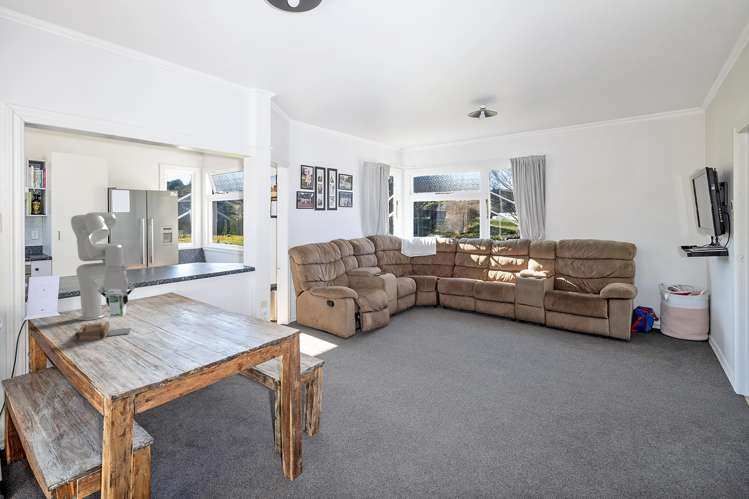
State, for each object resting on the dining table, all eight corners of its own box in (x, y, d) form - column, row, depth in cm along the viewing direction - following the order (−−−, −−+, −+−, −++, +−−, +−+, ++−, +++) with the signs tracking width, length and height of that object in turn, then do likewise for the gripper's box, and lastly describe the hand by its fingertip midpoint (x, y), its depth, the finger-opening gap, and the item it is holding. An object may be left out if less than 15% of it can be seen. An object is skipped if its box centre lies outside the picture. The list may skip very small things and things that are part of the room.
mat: (110, 331, 198) (110, 330, 198) (130, 328, 202) (130, 327, 202) (107, 336, 189) (107, 335, 189) (128, 334, 193) (128, 332, 193)
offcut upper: (87, 327, 195) (87, 323, 195) (102, 325, 198) (101, 321, 198) (86, 329, 191) (86, 325, 191) (101, 328, 194) (100, 324, 194)
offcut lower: (88, 332, 196) (88, 327, 196) (103, 331, 199) (102, 325, 198) (86, 335, 192) (86, 329, 191) (101, 334, 194) (100, 328, 194)
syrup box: (109, 317, 191) (107, 289, 190) (114, 314, 197) (112, 286, 195) (122, 316, 193) (120, 288, 191) (126, 314, 198) (124, 286, 197)
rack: (83, 332, 196) (83, 324, 196) (109, 329, 201) (108, 321, 201) (75, 341, 182) (75, 333, 182) (103, 338, 187) (103, 330, 187)
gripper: (136, 267, 200) (138, 300, 201) (95, 269, 192) (98, 304, 194) (134, 268, 193) (136, 303, 195) (92, 271, 185) (95, 307, 187)
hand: (117, 303), depth 194 cm, fingers closed on syrup box, 6 cm apart
